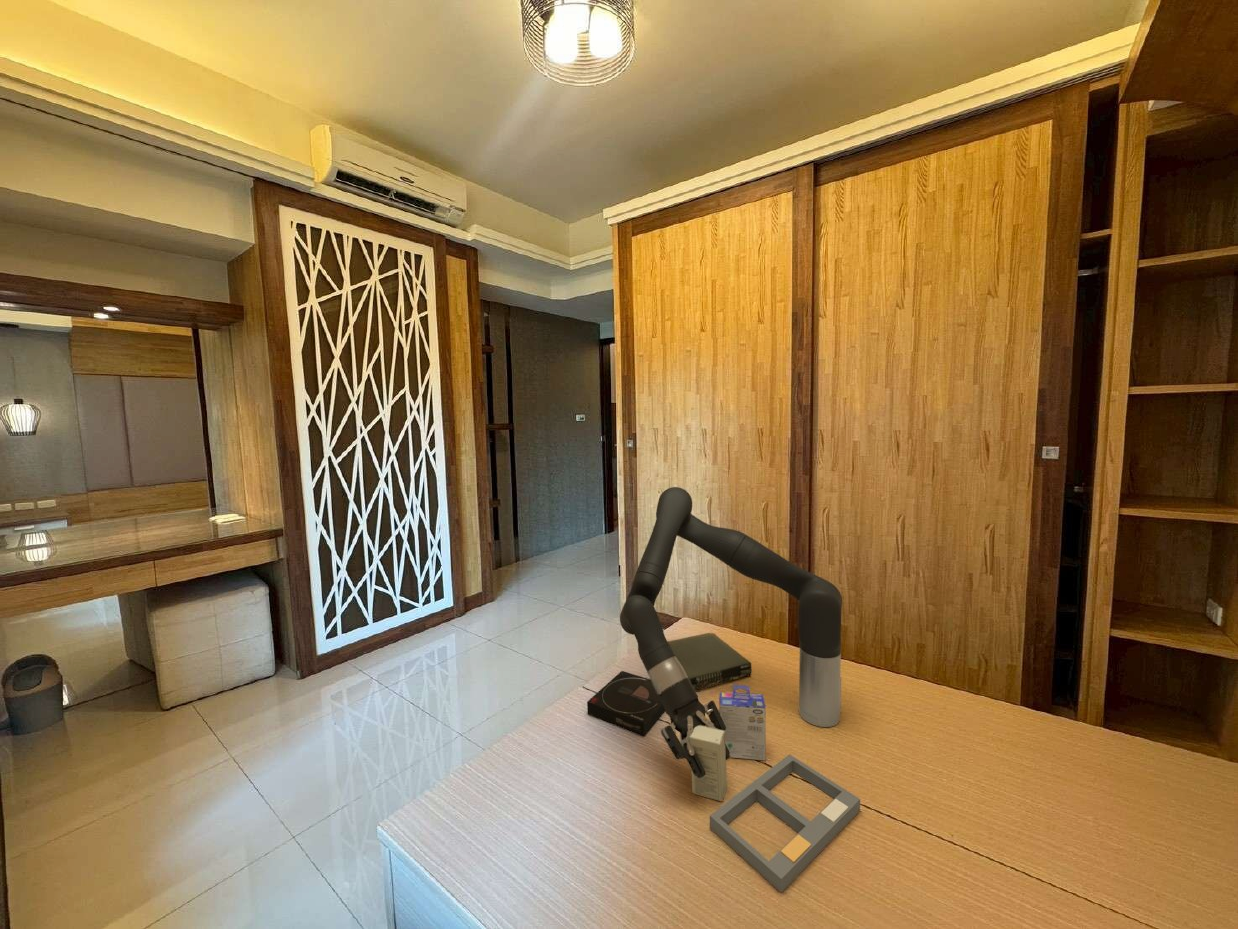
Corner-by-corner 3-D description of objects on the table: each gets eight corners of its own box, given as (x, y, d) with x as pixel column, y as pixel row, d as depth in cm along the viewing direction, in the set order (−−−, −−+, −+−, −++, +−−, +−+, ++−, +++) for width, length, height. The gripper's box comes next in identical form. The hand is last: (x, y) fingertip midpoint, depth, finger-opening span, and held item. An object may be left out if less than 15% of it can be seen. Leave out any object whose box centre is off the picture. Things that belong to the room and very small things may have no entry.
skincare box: (727, 786, 96) (726, 730, 94) (722, 803, 92) (721, 744, 90) (696, 777, 98) (695, 722, 97) (690, 793, 94) (689, 736, 93)
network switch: (691, 701, 125) (691, 683, 124) (646, 661, 145) (645, 645, 145) (758, 676, 135) (758, 659, 135) (707, 642, 156) (707, 627, 155)
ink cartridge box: (763, 744, 107) (763, 683, 106) (767, 761, 102) (767, 698, 100) (719, 740, 109) (718, 681, 108) (720, 757, 104) (719, 695, 102)
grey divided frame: (789, 764, 101) (789, 752, 101) (860, 811, 89) (860, 797, 89) (709, 828, 87) (709, 814, 86) (781, 893, 74) (781, 877, 74)
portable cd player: (676, 700, 125) (675, 685, 125) (644, 738, 111) (643, 722, 111) (623, 682, 134) (623, 669, 134) (587, 716, 120) (587, 701, 120)
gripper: (687, 678, 108) (728, 756, 100) (638, 703, 99) (678, 790, 91) (704, 666, 103) (749, 746, 95) (654, 691, 94) (698, 781, 86)
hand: (714, 767), depth 93 cm, fingers closed on skincare box, 6 cm apart
